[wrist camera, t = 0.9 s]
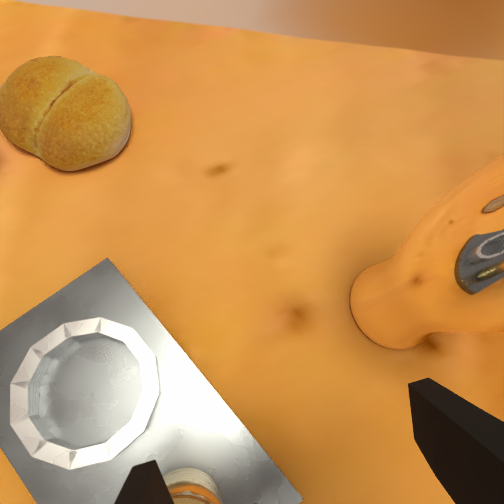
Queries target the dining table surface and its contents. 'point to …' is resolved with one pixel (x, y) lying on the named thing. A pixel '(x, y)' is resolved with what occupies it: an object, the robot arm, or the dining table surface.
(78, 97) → the bread roll
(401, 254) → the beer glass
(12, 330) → the pipe plate
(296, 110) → the dining table surface
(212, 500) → the brass fitting
